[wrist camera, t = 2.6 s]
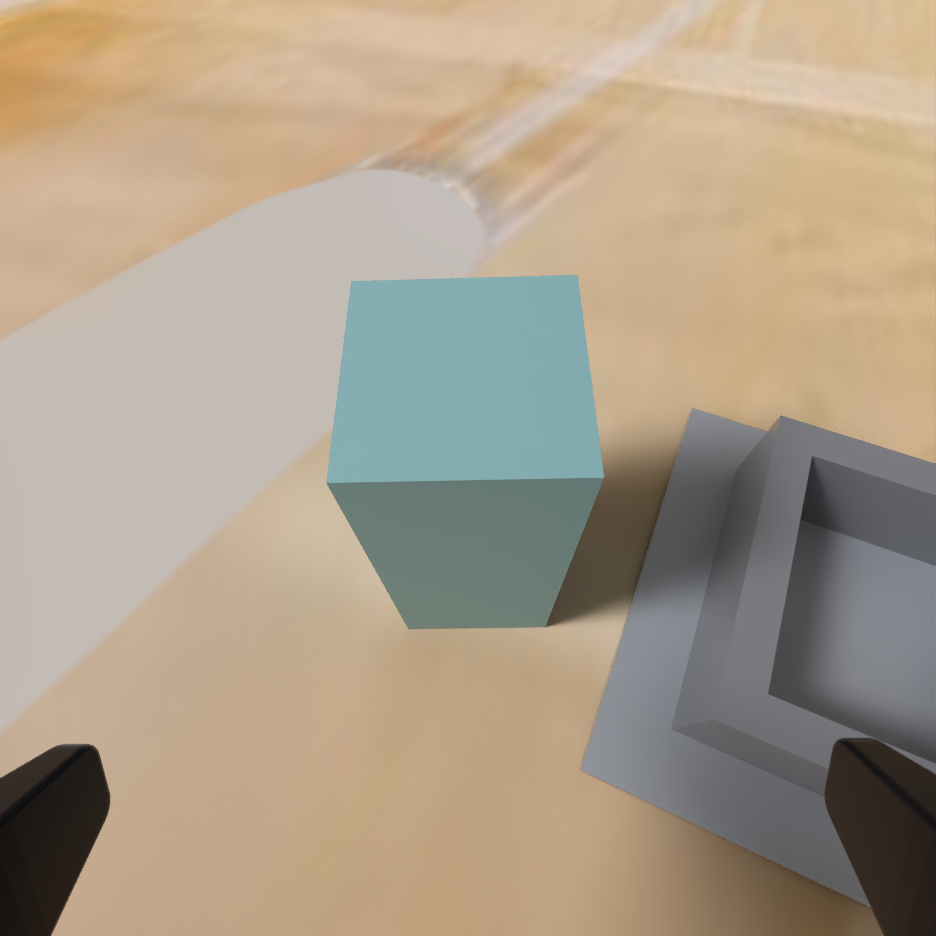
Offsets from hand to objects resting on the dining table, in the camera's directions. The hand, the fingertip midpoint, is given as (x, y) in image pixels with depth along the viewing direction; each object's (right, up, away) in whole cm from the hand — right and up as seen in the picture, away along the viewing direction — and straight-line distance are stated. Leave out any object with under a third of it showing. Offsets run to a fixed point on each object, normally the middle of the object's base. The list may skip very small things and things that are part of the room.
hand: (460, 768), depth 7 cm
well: (+14, -3, +13) cm, 19 cm away
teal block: (0, 0, +15) cm, 15 cm away
